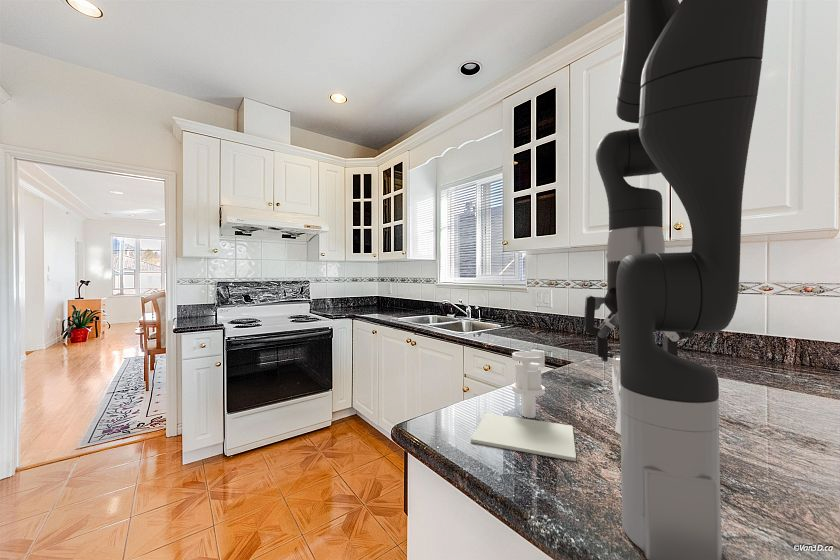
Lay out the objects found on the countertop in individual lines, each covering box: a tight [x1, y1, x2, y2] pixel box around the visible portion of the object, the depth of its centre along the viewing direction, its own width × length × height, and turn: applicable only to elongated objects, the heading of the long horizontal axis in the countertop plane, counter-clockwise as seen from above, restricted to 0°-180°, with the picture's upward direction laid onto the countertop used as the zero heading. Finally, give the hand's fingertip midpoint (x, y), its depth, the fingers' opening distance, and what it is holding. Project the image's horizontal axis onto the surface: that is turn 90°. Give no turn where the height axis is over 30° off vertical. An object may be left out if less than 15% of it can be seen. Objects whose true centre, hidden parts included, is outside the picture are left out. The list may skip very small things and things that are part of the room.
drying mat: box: [470, 412, 577, 462], centre depth 66 cm, size 14×18×1 cm
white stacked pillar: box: [511, 348, 546, 419], centre depth 76 cm, size 7×7×15 cm
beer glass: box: [611, 354, 621, 436], centre depth 67 cm, size 7×7×15 cm
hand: (635, 362), depth 52 cm, fingers open, 8 cm apart
